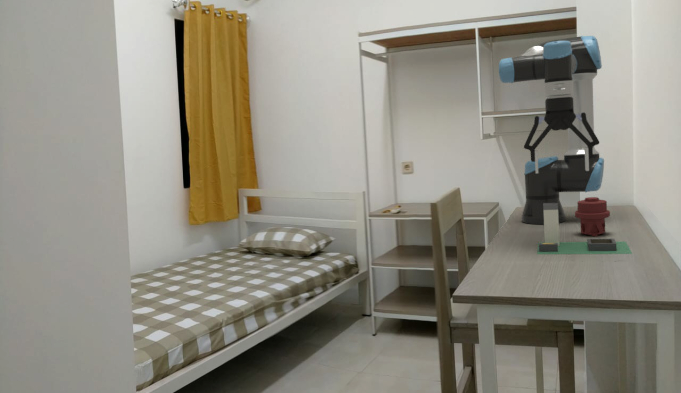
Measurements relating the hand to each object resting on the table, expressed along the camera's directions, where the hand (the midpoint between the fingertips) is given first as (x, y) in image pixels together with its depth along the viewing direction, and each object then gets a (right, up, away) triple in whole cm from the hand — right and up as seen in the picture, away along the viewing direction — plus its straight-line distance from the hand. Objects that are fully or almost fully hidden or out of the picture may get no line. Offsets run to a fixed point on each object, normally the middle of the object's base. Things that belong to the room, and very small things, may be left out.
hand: (561, 171), depth 177 cm
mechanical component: (+15, -20, +15) cm, 29 cm away
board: (+5, -23, -3) cm, 23 cm away
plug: (-1, -21, +4) cm, 22 cm away
